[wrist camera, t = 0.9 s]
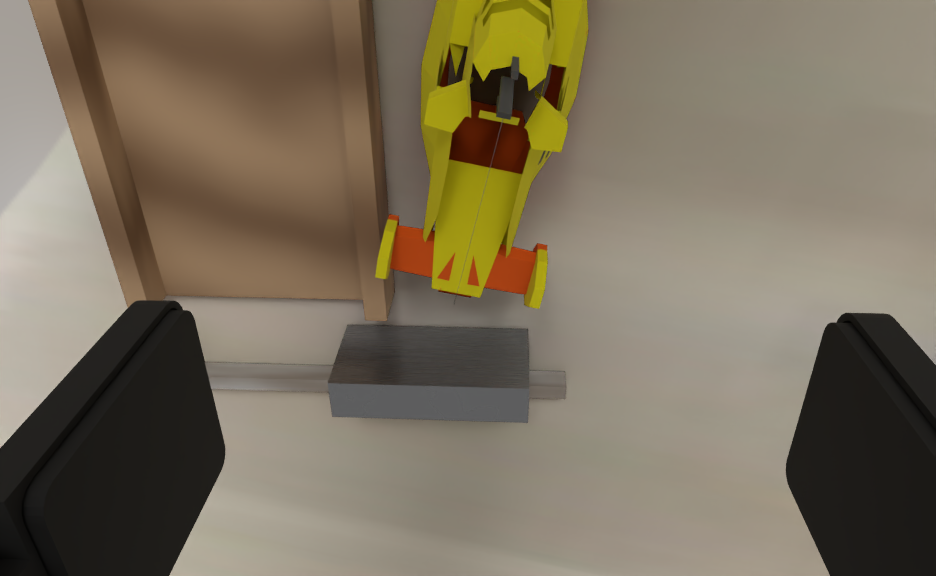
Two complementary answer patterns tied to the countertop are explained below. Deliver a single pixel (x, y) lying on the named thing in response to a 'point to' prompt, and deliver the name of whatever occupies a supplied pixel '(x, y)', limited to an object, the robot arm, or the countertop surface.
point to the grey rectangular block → (431, 374)
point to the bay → (233, 153)
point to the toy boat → (488, 143)
